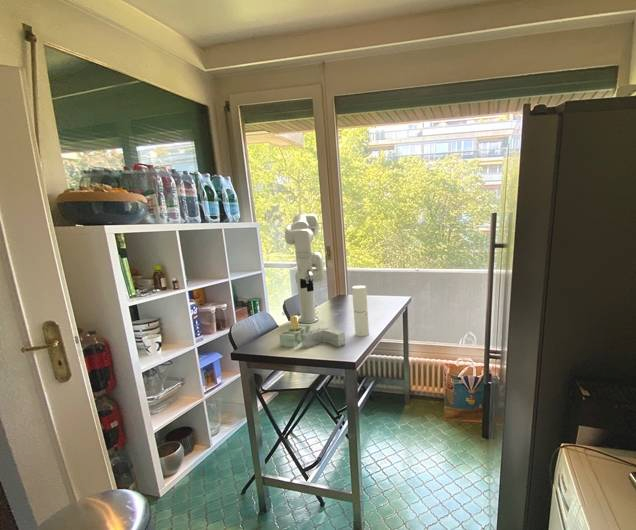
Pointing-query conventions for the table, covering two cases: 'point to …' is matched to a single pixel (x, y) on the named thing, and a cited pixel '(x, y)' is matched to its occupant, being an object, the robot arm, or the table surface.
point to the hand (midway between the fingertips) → (307, 289)
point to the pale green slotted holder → (293, 336)
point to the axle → (294, 323)
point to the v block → (323, 337)
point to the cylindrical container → (360, 310)
